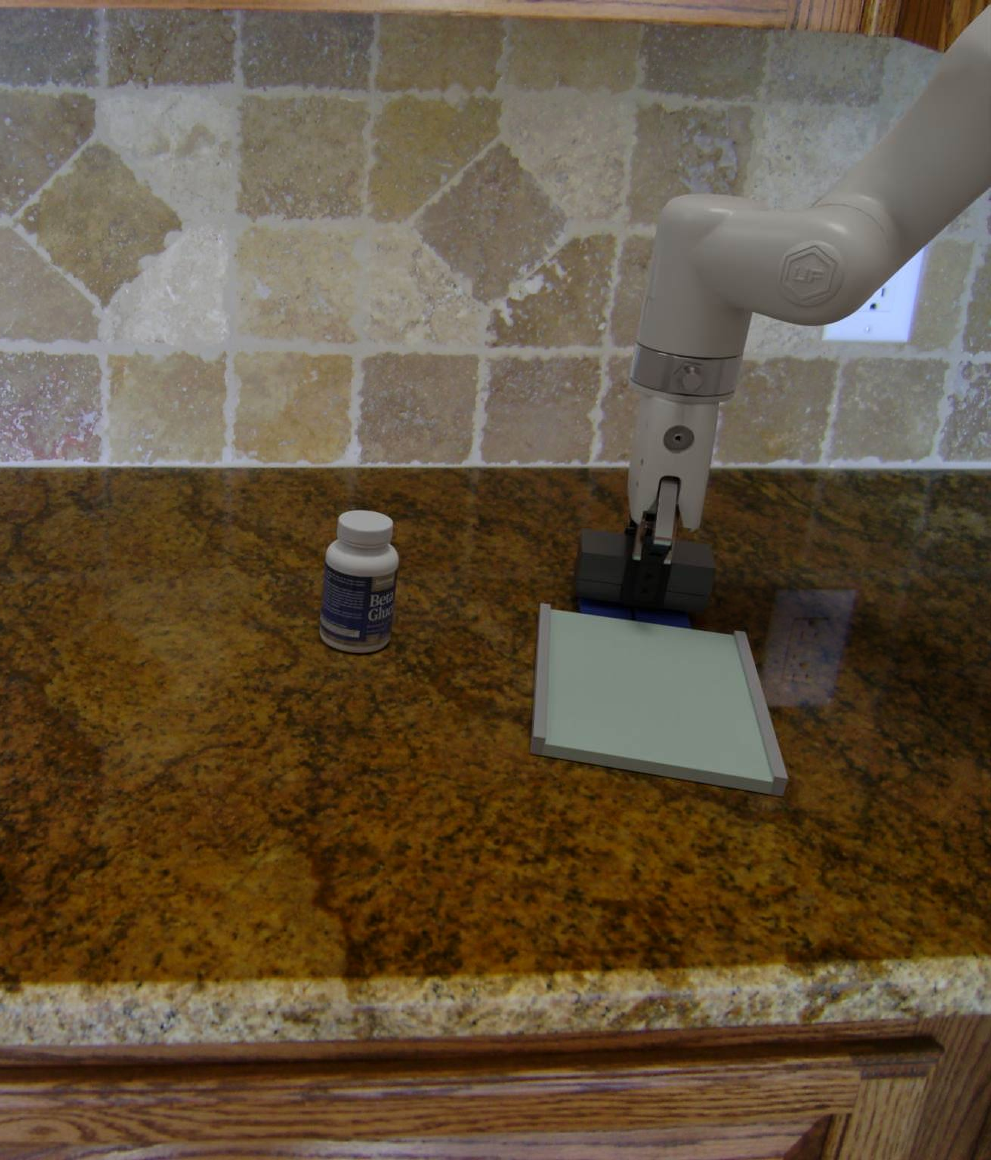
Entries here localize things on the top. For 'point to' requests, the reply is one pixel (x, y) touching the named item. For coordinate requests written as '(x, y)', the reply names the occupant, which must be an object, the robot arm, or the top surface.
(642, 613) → the smudge
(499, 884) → the top surface
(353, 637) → the pill bottle
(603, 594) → the eraser
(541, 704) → the board
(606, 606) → the smudge
